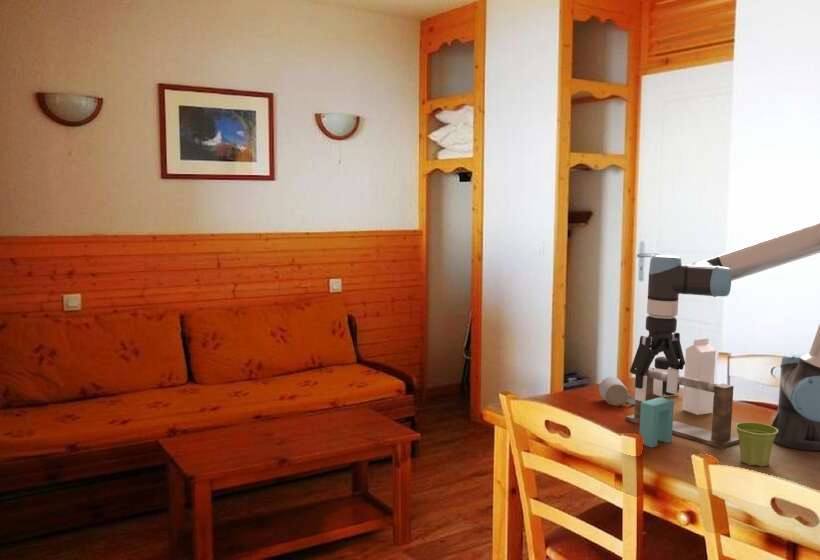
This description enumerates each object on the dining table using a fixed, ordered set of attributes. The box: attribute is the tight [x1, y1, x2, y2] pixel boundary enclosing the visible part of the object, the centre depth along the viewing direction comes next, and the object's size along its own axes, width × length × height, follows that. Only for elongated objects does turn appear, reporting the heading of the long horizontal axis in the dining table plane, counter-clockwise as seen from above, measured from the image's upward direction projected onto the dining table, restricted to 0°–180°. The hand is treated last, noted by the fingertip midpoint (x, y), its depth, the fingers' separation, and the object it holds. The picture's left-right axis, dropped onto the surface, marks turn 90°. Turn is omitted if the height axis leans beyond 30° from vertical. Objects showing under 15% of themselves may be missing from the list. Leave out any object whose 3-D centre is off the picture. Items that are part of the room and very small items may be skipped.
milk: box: [682, 338, 717, 416], centre depth 224 cm, size 6×6×22 cm
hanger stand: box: [625, 366, 739, 449], centre depth 205 cm, size 30×8×15 cm, turn 37°
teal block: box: [638, 396, 675, 449], centre depth 196 cm, size 8×4×11 cm, turn 127°
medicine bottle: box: [653, 356, 681, 398], centre depth 244 cm, size 7×7×12 cm
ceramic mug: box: [598, 376, 635, 407], centre depth 233 cm, size 11×8×8 cm
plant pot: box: [735, 421, 778, 467], centre depth 182 cm, size 9×9×9 cm
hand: (656, 396), depth 195 cm, fingers open, 13 cm apart
